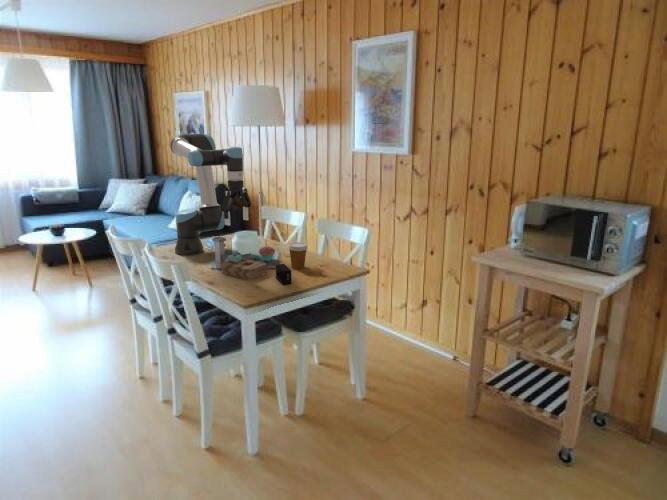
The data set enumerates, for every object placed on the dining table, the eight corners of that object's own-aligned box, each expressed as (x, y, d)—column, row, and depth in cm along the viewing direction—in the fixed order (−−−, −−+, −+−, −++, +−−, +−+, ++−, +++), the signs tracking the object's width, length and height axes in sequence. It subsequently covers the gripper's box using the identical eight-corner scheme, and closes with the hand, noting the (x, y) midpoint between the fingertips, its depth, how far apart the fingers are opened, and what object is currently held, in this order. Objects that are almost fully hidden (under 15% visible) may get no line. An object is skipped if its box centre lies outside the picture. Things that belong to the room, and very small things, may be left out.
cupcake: (273, 262, 240) (273, 240, 236) (257, 262, 240) (257, 239, 237) (276, 257, 248) (275, 236, 245) (260, 257, 248) (259, 235, 245)
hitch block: (222, 272, 222) (221, 261, 221) (239, 266, 232) (238, 255, 230) (250, 280, 213) (250, 268, 212) (266, 273, 223) (266, 262, 221)
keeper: (228, 260, 224) (228, 254, 223) (234, 258, 227) (233, 252, 226) (235, 262, 221) (235, 255, 220) (241, 260, 224) (241, 253, 224)
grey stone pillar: (213, 268, 228) (212, 238, 224) (220, 266, 232) (219, 236, 228) (220, 270, 226) (219, 239, 222) (227, 267, 230) (225, 237, 226)
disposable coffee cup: (304, 271, 227) (304, 247, 224) (286, 269, 229) (285, 246, 226) (309, 265, 236) (309, 242, 233) (291, 263, 238) (291, 241, 235)
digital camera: (273, 278, 216) (272, 264, 214) (284, 277, 218) (283, 263, 216) (280, 286, 207) (279, 271, 205) (291, 284, 209) (291, 269, 207)
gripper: (223, 183, 209) (225, 228, 215) (257, 177, 230) (258, 218, 236) (211, 181, 213) (213, 226, 219) (246, 176, 234) (247, 216, 240)
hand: (237, 222), depth 227 cm, fingers open, 13 cm apart
